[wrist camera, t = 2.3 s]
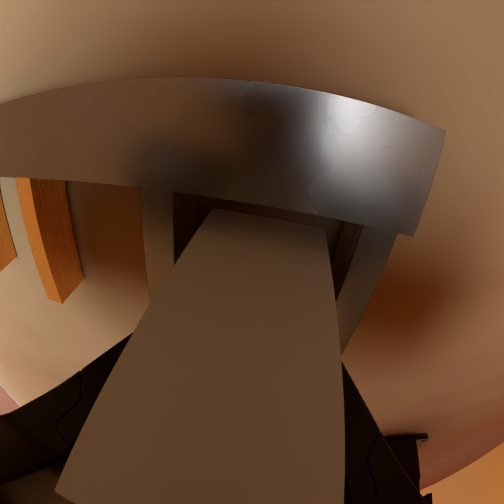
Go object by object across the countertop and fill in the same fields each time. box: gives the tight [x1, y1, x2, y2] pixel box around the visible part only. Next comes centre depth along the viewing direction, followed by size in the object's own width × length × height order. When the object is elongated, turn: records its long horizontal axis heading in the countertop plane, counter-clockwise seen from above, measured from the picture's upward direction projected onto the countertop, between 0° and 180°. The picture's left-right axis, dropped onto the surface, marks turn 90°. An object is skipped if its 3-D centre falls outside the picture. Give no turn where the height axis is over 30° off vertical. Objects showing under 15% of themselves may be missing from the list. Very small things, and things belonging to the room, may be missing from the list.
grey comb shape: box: [0, 77, 446, 355], centre depth 9 cm, size 9×20×2 cm, turn 83°
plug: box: [54, 208, 345, 504], centre depth 6 cm, size 4×4×10 cm
